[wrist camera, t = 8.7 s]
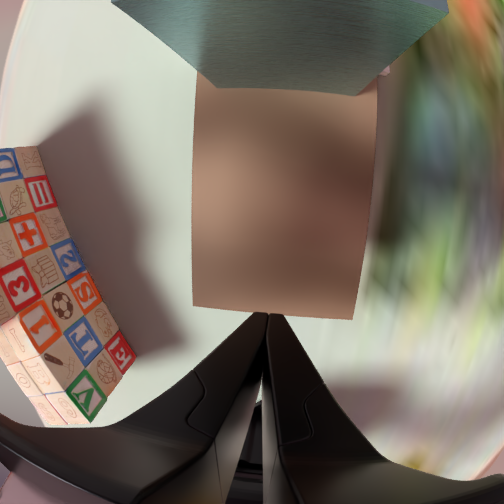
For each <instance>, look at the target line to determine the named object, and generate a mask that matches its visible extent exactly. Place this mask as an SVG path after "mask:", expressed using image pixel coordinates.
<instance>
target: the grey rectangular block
mask: <svg viewBox="0 0 504 504" xmlns="http://www.w3.org/2000/svg"><path fill="white" fill-rule="evenodd" d="M111 3H112V4H114V5H115V6H117V7H118V8H119V9H121V10H122V11H124V12H125V13H126V14H128V15H129V16H130V17H132V18H133V19H134V20H136V21H137V22H138V23H140V24H141V25H142V26H144V27H145V28H146V29H147V30H149V31H150V32H151V33H153V34H154V35H155V36H156V37H158V38H159V39H160V40H161V41H163V42H164V43H165V44H166V45H168V46H169V47H170V48H171V49H172V50H174V51H175V52H176V53H177V54H178V55H180V56H181V57H182V58H183V59H184V60H186V61H187V62H188V63H189V64H190V65H191V66H193V67H194V68H195V69H196V70H197V71H198V72H199V73H201V74H202V75H203V76H204V77H205V78H206V79H207V80H209V81H210V82H211V83H212V84H213V85H214V86H215V87H216V88H262V89H285V90H300V91H312V92H323V93H332V94H340V95H348V96H356V95H357V94H358V93H359V92H360V91H361V90H362V89H363V88H365V87H366V86H367V85H368V84H369V83H370V82H371V81H372V80H373V79H374V78H375V77H376V76H378V75H379V74H380V73H381V72H382V71H383V70H384V69H385V68H386V67H387V66H389V65H390V64H391V63H392V62H393V61H394V60H395V59H396V58H398V57H399V56H400V55H401V54H402V53H403V52H404V51H405V50H407V49H408V48H409V47H410V46H411V45H412V44H413V43H414V42H416V41H417V40H418V39H419V38H420V37H421V36H423V35H424V34H425V33H426V32H427V31H428V30H429V29H431V28H432V27H433V26H434V25H435V24H436V23H438V22H439V21H440V20H441V19H442V18H444V17H445V16H446V15H447V14H448V13H449V10H448V5H447V0H111Z"/></svg>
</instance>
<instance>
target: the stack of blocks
mask: <svg viewBox="0 0 504 504" xmlns="http://www.w3.org/2000/svg"><path fill="white" fill-rule="evenodd" d="M57 206H58V205H57V202H56V200H55V197H54V195H53V192H52V189H51V187H50V184H49V181H48V179H47V176H46V173H45V170H44V167H43V164H42V161H41V158H40V155H39V152H38V149H37V146H30V147H15V148H4V149H0V357H1V359H2V360H3V361H4V363H5V364H6V366H7V369H8V370H9V372H10V373H11V375H12V376H13V378H14V379H15V381H16V382H17V383H18V385H19V386H20V388H21V389H22V391H23V392H24V393H25V395H26V396H27V397H28V398H29V399H30V401H31V402H32V404H33V405H34V406H35V408H36V409H37V410H38V411H39V413H40V414H41V415H42V416H43V418H44V419H45V420H46V421H47V423H48V424H50V425H68V424H89V423H91V422H92V421H93V420H94V418H95V417H96V415H97V414H98V412H99V411H100V409H101V408H102V407H103V405H104V404H105V402H106V401H107V397H108V396H109V395H110V394H111V392H112V391H113V390H114V388H115V387H116V386H117V384H118V383H119V382H120V380H121V379H122V377H123V375H124V374H125V373H126V371H127V370H128V369H129V367H130V366H131V365H132V363H133V362H134V361H135V359H136V355H135V354H134V352H133V351H132V349H131V348H130V346H129V345H128V343H127V342H126V340H125V338H124V337H123V335H122V334H121V332H120V331H119V327H118V325H117V324H116V322H115V320H114V319H113V317H112V315H111V313H110V312H109V310H108V308H107V306H106V305H105V303H104V302H103V301H102V298H101V296H100V294H99V292H98V290H97V288H96V286H95V284H94V282H93V280H92V278H91V276H90V274H89V272H88V271H87V270H86V268H85V266H84V264H83V262H82V260H81V258H80V255H79V253H78V252H77V249H76V247H75V245H74V243H73V240H72V239H71V238H70V234H69V232H68V230H67V228H66V226H65V223H64V221H63V219H62V216H61V214H60V211H59V209H58V207H57Z"/></svg>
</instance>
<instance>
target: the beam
mask: <svg viewBox="0 0 504 504" xmlns="http://www.w3.org/2000/svg"><path fill="white" fill-rule="evenodd" d="M376 125H377V76H376V77H375V78H374V79H373V80H372V81H371V82H370V83H369V84H368V85H367V86H366V87H365V88H363V89H362V90H361V91H360V92H359V93H358V94H357V95H356V96H348V95H340V94H332V93H323V92H312V91H300V90H285V89H262V88H216V87H215V86H214V85H213V84H212V83H211V82H210V81H209V80H207V79H206V78H205V77H204V76H203V75H202V74H201V73H199V72H198V71H197V82H196V97H195V115H194V136H193V163H192V292H193V306H198V307H206V308H215V309H224V310H233V311H243V312H253V313H254V312H266V313H268V314H270V313H279V314H283V315H287V316H300V317H314V318H329V319H347V320H352V319H353V314H354V309H355V304H356V299H357V293H358V288H359V282H360V276H361V270H362V264H363V258H364V251H365V244H366V237H367V230H368V222H369V213H370V205H371V195H372V185H373V173H374V161H375V145H376Z"/></svg>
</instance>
